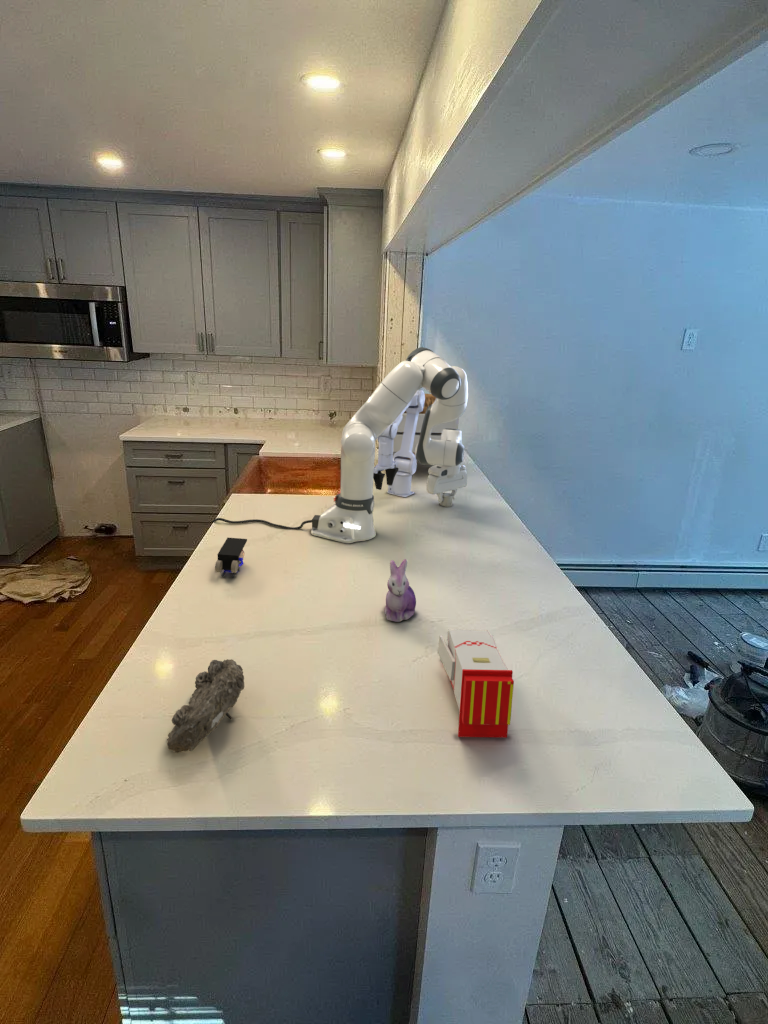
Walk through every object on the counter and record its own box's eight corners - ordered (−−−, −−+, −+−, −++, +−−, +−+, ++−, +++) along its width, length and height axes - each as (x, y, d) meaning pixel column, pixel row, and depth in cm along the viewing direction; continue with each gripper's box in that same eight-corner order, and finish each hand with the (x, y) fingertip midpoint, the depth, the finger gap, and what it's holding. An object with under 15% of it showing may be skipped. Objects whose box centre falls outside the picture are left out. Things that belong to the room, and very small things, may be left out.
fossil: (192, 660, 117) (244, 628, 112) (224, 691, 120) (276, 661, 115) (142, 746, 98) (202, 712, 93) (182, 779, 101) (242, 748, 96)
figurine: (392, 627, 141) (395, 572, 136) (374, 608, 149) (376, 556, 144) (425, 619, 145) (429, 566, 140) (405, 601, 154) (408, 550, 149)
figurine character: (238, 584, 162) (249, 557, 175) (236, 562, 158) (247, 536, 172) (215, 584, 161) (227, 556, 175) (212, 561, 158) (225, 535, 171)
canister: (448, 507, 229) (449, 497, 228) (437, 505, 231) (438, 494, 230) (453, 504, 233) (454, 494, 232) (442, 501, 236) (443, 491, 234)
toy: (488, 613, 130) (523, 677, 101) (484, 667, 133) (517, 744, 104) (435, 612, 130) (455, 676, 101) (432, 666, 133) (451, 743, 103)
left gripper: (460, 462, 236) (457, 494, 240) (425, 469, 223) (423, 502, 228) (472, 466, 231) (469, 498, 236) (436, 473, 219) (434, 507, 223)
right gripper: (383, 458, 212) (382, 493, 217) (404, 452, 223) (402, 485, 228) (368, 455, 216) (367, 489, 220) (389, 449, 227) (388, 481, 232)
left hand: (446, 500), depth 232 cm, fingers closed on canister, 5 cm apart
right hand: (384, 487), depth 224 cm, fingers open, 7 cm apart
